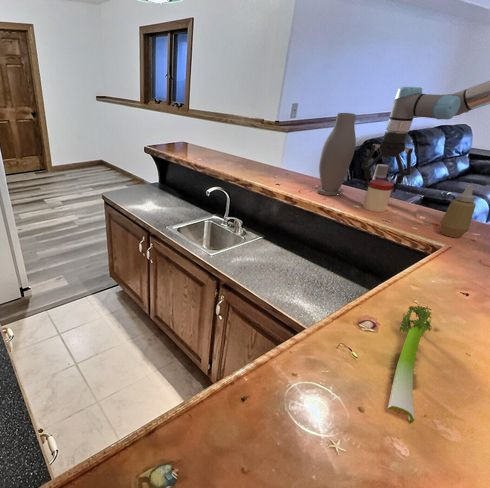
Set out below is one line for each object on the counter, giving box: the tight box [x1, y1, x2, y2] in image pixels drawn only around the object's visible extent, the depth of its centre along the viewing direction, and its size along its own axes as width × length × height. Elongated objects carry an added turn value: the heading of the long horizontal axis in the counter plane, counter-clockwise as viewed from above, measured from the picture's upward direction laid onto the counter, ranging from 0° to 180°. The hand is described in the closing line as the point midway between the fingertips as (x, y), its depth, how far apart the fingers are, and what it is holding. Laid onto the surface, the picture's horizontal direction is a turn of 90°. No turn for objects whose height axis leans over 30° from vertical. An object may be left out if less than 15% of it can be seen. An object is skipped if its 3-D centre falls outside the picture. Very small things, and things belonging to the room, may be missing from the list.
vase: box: [316, 112, 357, 196], centre depth 155 cm, size 13×13×35 cm
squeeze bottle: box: [439, 183, 477, 239], centre depth 118 cm, size 8×8×18 cm
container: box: [372, 163, 390, 181], centre depth 153 cm, size 5×5×15 cm
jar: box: [362, 185, 393, 213], centre depth 143 cm, size 8×8×10 cm
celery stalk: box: [387, 305, 433, 424], centre depth 67 cm, size 6×7×30 cm
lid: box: [368, 179, 395, 191], centre depth 141 cm, size 8×8×2 cm
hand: (379, 188), depth 142 cm, fingers open, 10 cm apart
